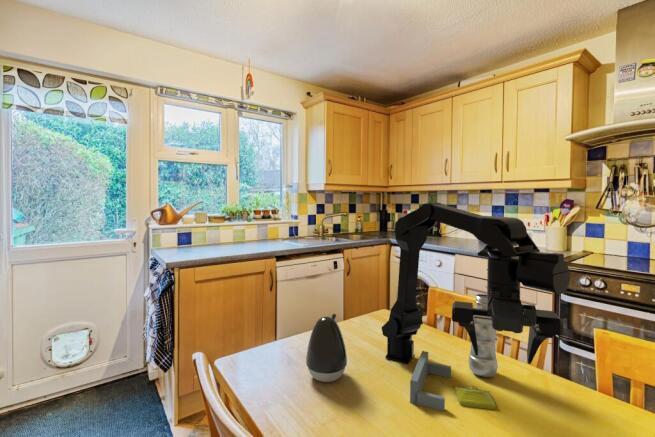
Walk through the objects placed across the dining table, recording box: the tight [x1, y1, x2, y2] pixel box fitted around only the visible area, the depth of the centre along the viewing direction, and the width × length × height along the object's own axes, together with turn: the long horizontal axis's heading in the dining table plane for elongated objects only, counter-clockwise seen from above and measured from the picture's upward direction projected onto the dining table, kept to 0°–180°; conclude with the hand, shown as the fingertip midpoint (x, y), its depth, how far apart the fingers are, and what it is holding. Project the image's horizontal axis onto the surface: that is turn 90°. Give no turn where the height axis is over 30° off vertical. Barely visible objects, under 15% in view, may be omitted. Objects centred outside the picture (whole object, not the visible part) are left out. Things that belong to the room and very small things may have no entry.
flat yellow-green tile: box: [454, 385, 498, 410], centre depth 71 cm, size 10×9×3 cm
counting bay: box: [409, 350, 452, 412], centre depth 75 cm, size 7×15×5 cm, turn 154°
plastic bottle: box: [467, 293, 499, 378], centre depth 81 cm, size 6×7×20 cm
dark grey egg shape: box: [305, 313, 348, 383], centre depth 80 cm, size 10×10×15 cm
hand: (502, 358), depth 64 cm, fingers open, 9 cm apart
